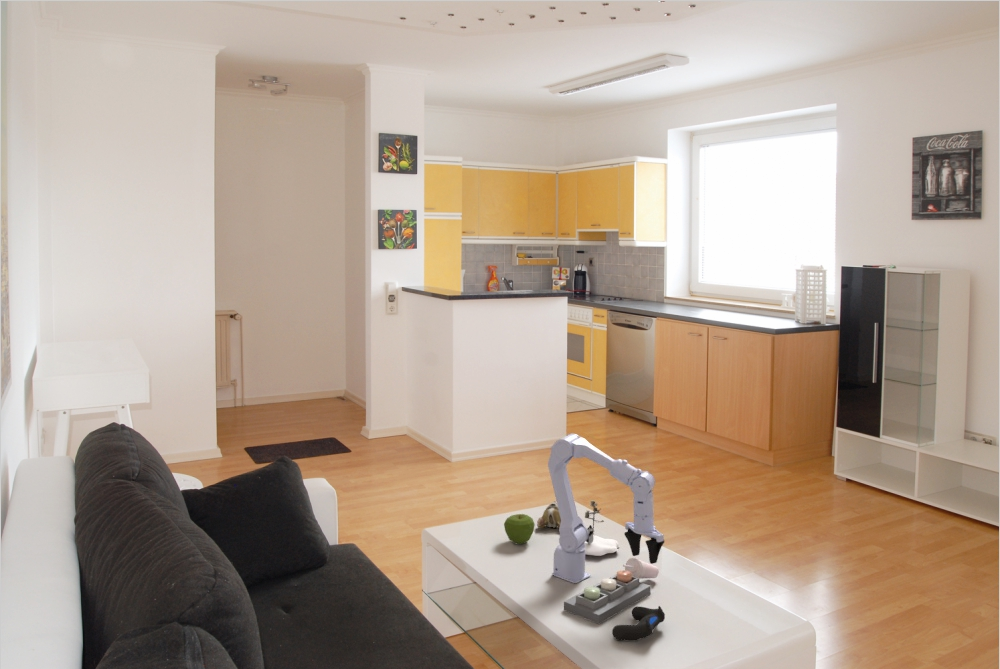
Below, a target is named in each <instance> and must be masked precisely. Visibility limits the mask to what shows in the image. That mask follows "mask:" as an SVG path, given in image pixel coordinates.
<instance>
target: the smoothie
mask: <svg viewBox="0 0 1000 669" xmlns="http://www.w3.org/2000/svg"><path fill="white" fill-rule="evenodd" d="M622 567H624V571H629V572H631V573H632V576H634V577H637V578H639V580H641V579H656V578H657V577H658V575H659V568H658V566H656V565H654V564H651V563H650V562H649V563H648V562H646V561H643V560H640V559H639V558H637V557H630V558H629V559H628V560H627V561H626V563H625V564H623V565H622Z"/></svg>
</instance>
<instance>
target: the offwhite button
mask: <svg viewBox="0 0 1000 669" xmlns="http://www.w3.org/2000/svg"><path fill="white" fill-rule="evenodd" d="M600 582H601V589H603V590H606V591H609V592H612V591H614V590H616V581H615V580H613V579H608V578H602V579H601V580H600Z"/></svg>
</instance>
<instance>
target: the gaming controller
mask: <svg viewBox="0 0 1000 669" xmlns="http://www.w3.org/2000/svg"><path fill="white" fill-rule="evenodd" d="M631 616H632V619H634V620H635V621H638V622H637V624H619V625H618V624H617V625H615V626H614V627H613V628H612V637H613V638H614V639H615V640H616V641H622V642H623V641H625V642H626V641H629V642H630V641H631V642H633V641H639V640H641V639H645V638H648V637H650V636H651V635H652V634H653V631H654V629H656V627H657V626H658V625H659V624H661V623H663V622H664V621H665V618H666V614H665V612H664V611H663V608H662V607H661V606H660V605H659V606H658V608H649V607H644V606H634V607H633V608H632V610H631Z"/></svg>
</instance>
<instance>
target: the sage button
mask: <svg viewBox="0 0 1000 669" xmlns="http://www.w3.org/2000/svg"><path fill="white" fill-rule="evenodd" d="M583 591H584V598H587V599H589V600H592V601H596V600H597V599H599V598H600V590H599V589H598V588H595V587H593V586H588V587H585V588H584V590H583Z"/></svg>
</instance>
